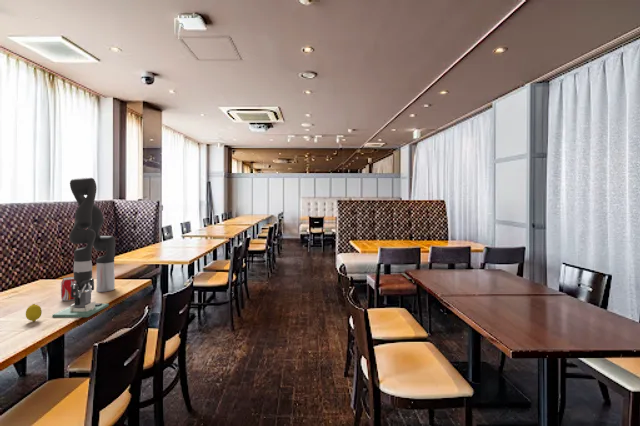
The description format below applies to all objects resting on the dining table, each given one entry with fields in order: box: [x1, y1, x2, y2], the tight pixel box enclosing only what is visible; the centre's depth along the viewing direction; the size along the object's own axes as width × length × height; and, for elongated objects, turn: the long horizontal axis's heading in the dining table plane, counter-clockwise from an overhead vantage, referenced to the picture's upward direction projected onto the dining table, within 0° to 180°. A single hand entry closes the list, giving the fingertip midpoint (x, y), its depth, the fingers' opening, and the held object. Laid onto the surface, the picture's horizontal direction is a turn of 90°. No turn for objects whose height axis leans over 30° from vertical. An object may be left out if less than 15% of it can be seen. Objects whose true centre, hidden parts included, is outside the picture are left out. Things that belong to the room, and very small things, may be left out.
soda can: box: [60, 276, 76, 302], centre depth 191 cm, size 7×7×12 cm
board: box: [52, 300, 110, 318], centre depth 172 cm, size 18×16×4 cm
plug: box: [75, 290, 92, 308], centre depth 171 cm, size 4×5×9 cm
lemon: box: [25, 303, 43, 322], centre depth 156 cm, size 6×6×8 cm
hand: (83, 302), depth 171 cm, fingers open, 8 cm apart
